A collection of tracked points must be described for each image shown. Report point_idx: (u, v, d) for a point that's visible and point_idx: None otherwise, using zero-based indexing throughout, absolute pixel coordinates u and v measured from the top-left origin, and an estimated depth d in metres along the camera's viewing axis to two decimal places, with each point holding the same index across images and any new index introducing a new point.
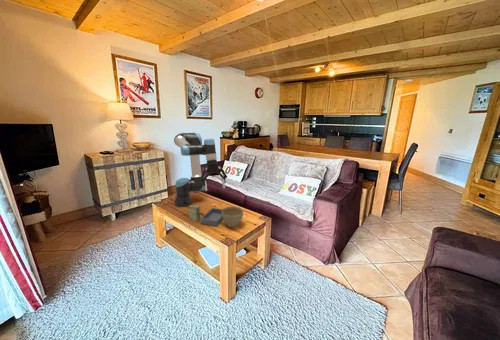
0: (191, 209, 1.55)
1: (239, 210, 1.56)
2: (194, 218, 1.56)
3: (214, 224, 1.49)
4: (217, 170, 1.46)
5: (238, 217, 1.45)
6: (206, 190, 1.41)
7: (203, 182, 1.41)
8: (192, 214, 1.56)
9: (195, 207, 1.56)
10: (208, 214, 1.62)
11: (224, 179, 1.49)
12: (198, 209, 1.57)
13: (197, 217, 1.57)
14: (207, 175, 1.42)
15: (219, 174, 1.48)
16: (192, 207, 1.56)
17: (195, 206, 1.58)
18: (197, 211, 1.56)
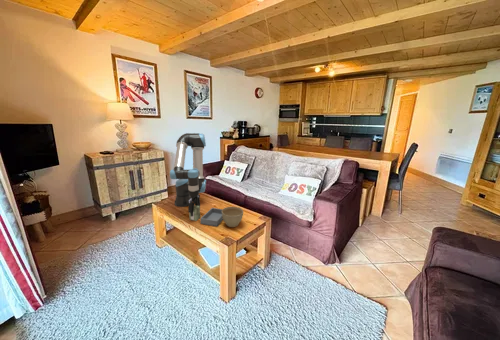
0: None
1: (239, 210, 1.56)
2: (194, 218, 1.56)
3: (214, 224, 1.49)
4: (197, 199, 1.57)
5: (238, 217, 1.45)
6: None
7: (192, 213, 1.53)
8: None
9: (195, 207, 1.56)
10: (208, 214, 1.62)
11: None
12: (198, 209, 1.57)
13: (197, 217, 1.57)
14: (193, 206, 1.53)
15: (196, 203, 1.59)
16: None
17: (195, 206, 1.58)
18: (197, 211, 1.56)
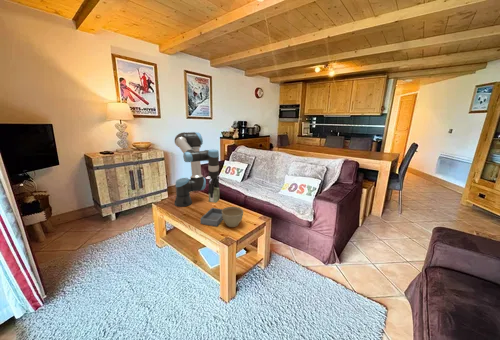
0: None
1: (239, 210, 1.56)
2: (214, 200, 1.52)
3: (214, 224, 1.49)
4: (217, 180, 1.53)
5: (238, 217, 1.45)
6: (213, 201, 1.52)
7: (212, 194, 1.49)
8: None
9: (215, 188, 1.52)
10: (208, 214, 1.62)
11: None
12: (218, 191, 1.53)
13: (217, 199, 1.53)
14: (213, 187, 1.49)
15: (216, 184, 1.55)
16: None
17: (214, 188, 1.54)
18: (217, 193, 1.52)
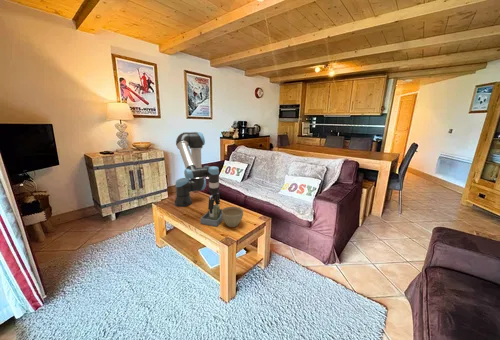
0: None
1: (239, 210, 1.56)
2: (214, 218, 1.56)
3: (214, 224, 1.49)
4: (217, 196, 1.57)
5: (238, 217, 1.45)
6: None
7: (211, 210, 1.51)
8: None
9: (215, 207, 1.56)
10: (208, 214, 1.62)
11: None
12: (218, 209, 1.57)
13: (217, 217, 1.57)
14: (213, 203, 1.52)
15: (216, 199, 1.58)
16: None
17: (215, 206, 1.58)
18: (217, 211, 1.56)
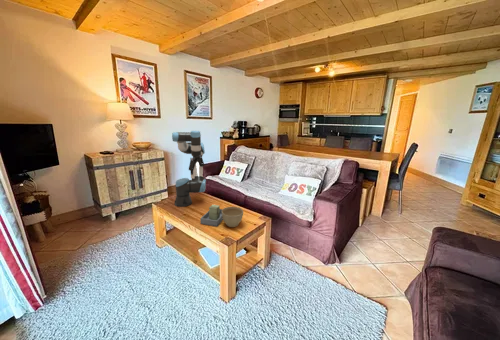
0: (211, 209, 1.55)
1: (239, 210, 1.56)
2: (214, 218, 1.56)
3: (214, 224, 1.49)
4: (200, 159, 1.65)
5: (238, 217, 1.45)
6: (194, 178, 1.59)
7: (192, 171, 1.57)
8: (212, 214, 1.55)
9: (215, 207, 1.56)
10: (208, 214, 1.62)
11: (202, 166, 1.72)
12: (218, 209, 1.57)
13: (217, 217, 1.57)
14: (194, 164, 1.59)
15: (200, 162, 1.68)
16: (212, 207, 1.56)
17: (215, 206, 1.58)
18: (217, 211, 1.56)
